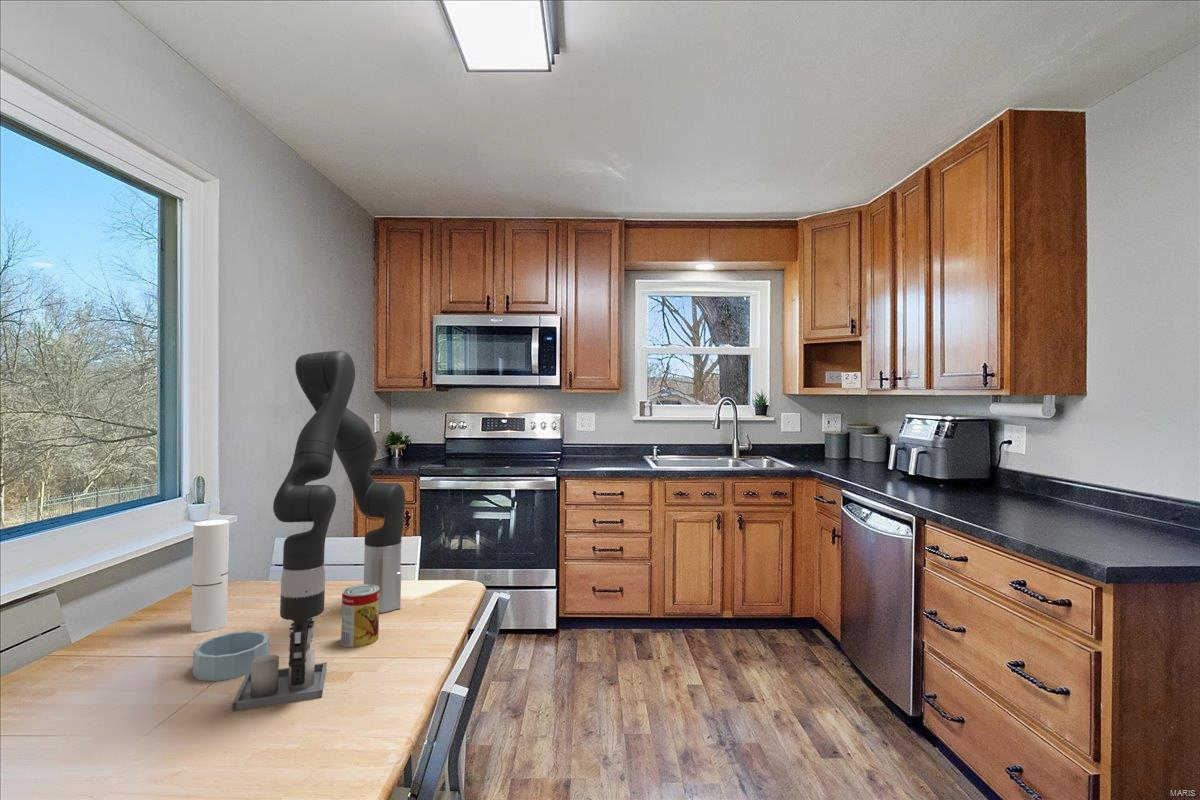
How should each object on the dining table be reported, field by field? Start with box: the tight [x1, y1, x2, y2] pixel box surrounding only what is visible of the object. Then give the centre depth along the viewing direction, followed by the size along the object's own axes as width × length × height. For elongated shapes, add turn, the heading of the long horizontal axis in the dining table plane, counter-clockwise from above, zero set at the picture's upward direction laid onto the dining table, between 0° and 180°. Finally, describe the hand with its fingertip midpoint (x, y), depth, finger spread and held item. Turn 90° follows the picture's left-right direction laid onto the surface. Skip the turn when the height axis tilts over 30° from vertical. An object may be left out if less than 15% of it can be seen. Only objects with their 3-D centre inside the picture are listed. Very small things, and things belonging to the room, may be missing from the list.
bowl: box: [192, 630, 270, 682], centre depth 116 cm, size 13×13×5 cm
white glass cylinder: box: [288, 647, 316, 690], centre depth 108 cm, size 4×4×6 cm
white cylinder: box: [251, 654, 280, 698], centre depth 105 cm, size 4×4×6 cm
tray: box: [232, 661, 328, 712], centre depth 107 cm, size 14×12×2 cm
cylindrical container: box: [190, 519, 230, 633], centre depth 137 cm, size 7×7×25 cm
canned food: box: [340, 583, 380, 648], centre depth 129 cm, size 8×8×12 cm
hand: (300, 674), depth 108 cm, fingers open, 8 cm apart
